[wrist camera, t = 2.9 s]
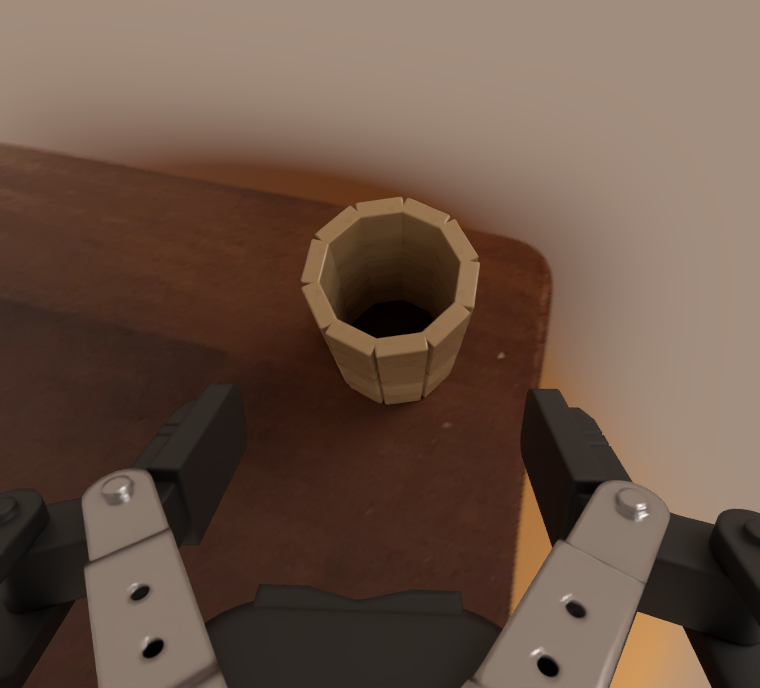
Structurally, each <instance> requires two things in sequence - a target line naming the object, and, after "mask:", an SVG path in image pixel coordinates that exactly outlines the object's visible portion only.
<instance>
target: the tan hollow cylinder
mask: <svg viewBox="0 0 760 688" xmlns="http://www.w3.org/2000/svg"><path fill="white" fill-rule="evenodd" d="M355 206H356V210H355V209H354V208H353V207H352V206H349V207H347V208H346V209H345V210H344V211H343V212H341V213H340V214H339V215H338V216H336V217H335V218H334V219H333V220H332V221H330V222H329V223H328V224H327V225H325V226H324V227H323V228H322V229H321V230H319V231H318V232H317V233H316V234H315V236H316V239H317V240H314V239H313V240H312V241H311V244H310V248H309V252H308V255H307V259H306V263H305V267H304V271H303V274H302V278H301V283H302V285H303V287H302V292H303V294H304V296H305V298H306V301H307V303H308V305H309V307H310V309H311V311H312V314H313V316H314V318H315V320H316V322H317V324H318V326H319V329H320V331H321V333H322V335H323V337H324V339H325V341H326V343H327V345H328V347H329V349H330V351H331V353H332V355H333V357H334V359H335V361H336V363H337V365H338V367H339V369H340V372H341V374H342V376H343V378H344V380H345V382H346V384H349V386H350V388H351V389H353V390H355V391H357V392H359V393H361V394H363V395H364V396H366V397H368V398H370V399H372V400H374V401H376V402H378V403H380V404H381V403H382V402H383V400H384V401H385V404H386V405H389V404H396V403H403V402H411V401H418V400H421V395H422V396H423V397H424V398H426V397H427V396H428V395H429V394H430V393H431V392H432V391H433V390H434V389H435V388H436V387H437V386H438V385H439V384H440V383H441V382H442V381H443V380H444V379H445V378H446V377H447V376H449V374H450V371H451V370H452V368H453V365H454V363H455V360H456V357H457V354H458V351H459V348H460V346H461V343H462V340H463V337H464V334H465V331H466V328H467V326H468V323H469V320H470V317H471V314H472V311H473V309H474V304H475V296H476V289H477V281H478V274H479V267H480V263H479V262H477V260H478V255H477V254H476V252H475V251H474V249H473V247H472V246H471V244H470V243H469V241H468V239H467V238H466V236H465V235H464V233H463V231H462V230H461V228H460V227H459V225H458V224H457V222H456V220H451V221H449V219H450V216H449V215H448V214H445V213H443V212H441V211H438V210H436V209H433V208H431V207H429V206H427V205H424V204H422V203H420V202H417V201H415V200H412V199H410V198H408V199H407V200H406V201H405V203H404V204H403V199H402V197H396V198H389V199H382V200H375V201H368V202H361V203H356V205H355ZM397 300H404V301H407V302H409V303H411V304H413V305H415V306H417V307H419V308H421V309H423V310H426V311H428V312H429V313H430V315H431V317H432V319H433V320H434V321H433V322H432V323H431V324H430V325H429V326H428V327H427V328H426V329H425V330H424V331H423V332H420V333H413V334H406V335H399V336H391V337H384V338H377V339H376V338H374V337H372V336H370V335H368V334H366V333H364V332H362V331H360V330H358V329H356V328H354V327H352V323H353V322H354V321H355V320H356V319H357V318H359V317H360V316H361V315H362V314H363V313H364V312H365V311H366V310H368V309H369V308H370V307H371V306H372V305H373V304H376V303H383V302H390V301H397Z"/></svg>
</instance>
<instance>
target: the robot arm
mask: <svg viewBox="0 0 760 688" xmlns="http://www.w3.org/2000/svg"><path fill="white" fill-rule="evenodd" d="M520 443H521V454H522V458H523V462H524V464H525V467H526V470H527V473H528V476H529V479H530V482H531V485H532V488H533V491H534V494H535V497H536V500H537V503H538V506H539V509H540V512H541V515H542V518H543V521H544V524H545V527H546V530H547V533H548V536H549V539H550V542H551V545H552V550H551V552H550V553H549V555H548V556H547V558H546V560H545V561H544V563H543V565H542V566H541V568H540V569H539V571H538V573H537V575H536V576H535V578H534V579H533V581H532V583H531V584H530V586H529V587H528V589H527V591H526V592H525V594H524V596H523V597H522V599H521V601H520V602H519V604H518V605H517V607H516V609H515V610H514V612H513V614H512V615H511V617H510V619H509V620H508V622H507V623H506V625H505V627H504V628H501V627H500V626H499V625H497V624H496V623H494V622H492V621H491V620H489V619H487V618H485V617H483V616H481V615H479V614H476V613H474V612H471V611H468V610H465V609H463V605H462V597H461V592H459V591H432V590H407V591H402V592H397V593H392V594H387V595H383V596H378V597H373V598H368V599H363V600H354V599H350V598H347V597H344V596H340V595H337V594H334V593H330V592H327V591H323V590H320V589H317V588H313V587H310V586H298V585H271V584H259V587H258V590H257V593H256V596H255V599H254V601H253V602H249V603H245V604H242V605H239V606H236V607H234V608H231V609H229V610H227V611H225V612H223V613H221V614H219V615H217V616H216V617H214V618H212V619H210V620H209V621H208V622H206V623H205V624H204V622H203V619H202V616H201V613H200V611H199V608H198V605H197V602H196V599H195V596H194V593H193V591H192V588H191V585H190V582H189V579H188V576H187V573H186V570H185V568H184V565H183V562H182V559H181V556H180V553H179V548H180V546H181V545H199V544H200V542H201V540H202V538H203V536H204V534H205V532H206V530H207V528H208V526H209V524H210V522H211V519H212V517H213V515H214V513H215V511H216V509H217V507H218V505H219V503H220V501H221V499H222V497H223V495H224V493H225V491H226V488H227V486H228V484H229V482H230V480H231V478H232V476H233V474H234V472H235V470H236V468H237V466H238V464H239V462H240V459H241V457H242V455H243V453H244V451H245V448H246V444H247V426H246V420H245V415H244V409H243V403H242V397H241V392H240V388H239V386H238V385H237V384H208V385H207V387H206V388H205V389H204V391H203V392H202V393H201V395H200V396H199V397H198V399H197V400H196V401H189V402H187V403H186V404H184V405H183V406H181V407H180V408H178V409H177V410H175V411H174V412H173V413H172V415H171V416H170V417H169V418H168V420H167V421H166V422H165V425H164V426H162V427H161V429H160V430H159V431H158V432H157V436H154V437H153V439H152V440H151V441H150V443H149V444H148V445H147V446H146V448H145V449H144V450H143V451H142V453H141V454H140V455H139V457H138V458H137V459H136V460H135V462H134V463H133V464H132V465H131V467H130V468H129V469H124V470H120V471H116V472H113V473H111V474H108V475H106V476H104V477H102V478H101V479H99V480H98V481H96V482H95V483H94V484H92V485H91V486H90V487H89V488H88V489H87V491H86V492H85V493H84V495H83V498H78V499H73V500H68V501H63V502H58V503H53V504H49V505H45V503H44V500H43V498H42V496H41V494H40V493H39V492H38V491H36V490H34V489H27V488H23V489H15V490H11V491H7V492H4V493H1V494H0V688H22V686H23V685H24V683H25V681H26V680H27V678H28V677H29V675H30V673H31V672H32V670H33V668H34V667H35V665H36V664H37V662H38V660H39V659H40V657H41V656H42V654H43V652H44V651H45V649H46V647H47V646H48V644H49V643H50V641H51V639H52V638H53V636H54V635H55V633H56V631H57V630H58V628H59V626H60V625H61V623H62V622H63V620H64V618H65V617H66V615H67V613H68V612H69V610H70V609H71V607H72V605H73V604H74V602H75V601H76V599H80V598H84V597H87V598H88V606H89V614H90V622H91V630H92V638H93V646H94V654H95V662H96V670H97V678H98V686H99V688H609V687H610V684H611V681H612V679H613V676H614V673H615V670H616V668H617V665H618V662H619V659H620V656H621V654H622V651H623V649H624V646H625V643H626V640H627V637H628V635H629V632H630V629H631V627H632V624H633V621H634V619H635V616H636V613H637V611H638V612H641V613H644V614H647V615H650V616H653V617H656V618H659V619H662V620H666V621H669V622H672V623H675V624H678V625H681V626H683V628H684V630H685V632H686V634H687V636H688V639H689V641H690V643H691V645H692V647H693V649H694V651H695V653H696V655H697V657H698V660H699V662H700V664H701V666H702V668H703V670H704V672H705V674H706V676H707V679H708V681H709V683H710V685H711V687H712V688H760V513H757V512H754V511H750V510H744V509H729V510H726V511H723V512H722V513H721V514H720V515H719V516H718V518H717V521H716V523H715V525H714V524H710V523H707V522H703V521H699V520H695V519H691V518H686V517H683V516H679V515H676V514H673V513H670V512H669V510H668V507H667V506H666V504H665V503H664V502H663V501H662V499H661V498H659V496H657V495H656V494H655V493H653V492H652V491H650V490H649V489H647V488H645V487H643V486H641V485H638V484H635V483H633V482H632V480H631V479H630V477H629V476H628V474H627V472H626V471H625V469H624V467H623V466H622V464H621V462H620V461H619V459H618V458H617V456H616V454H615V453H614V451H613V450H612V448H611V446H609V444H608V441H607V440H606V438H605V436H604V435H602V432H601V430H600V428H599V427H598V425H597V423H596V422H595V420H594V419H593V418H591V417H590V416H589V415H588V414H586V413H585V412H584V411H583V410H581V409H580V408H569V407H568V405H567V403H566V401H565V400H564V398H563V396H562V394H561V392H560V391H559V390H558V389H529V390H528V392H527V396H526V403H525V410H524V416H523V423H522V430H521V441H520Z"/></svg>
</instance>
